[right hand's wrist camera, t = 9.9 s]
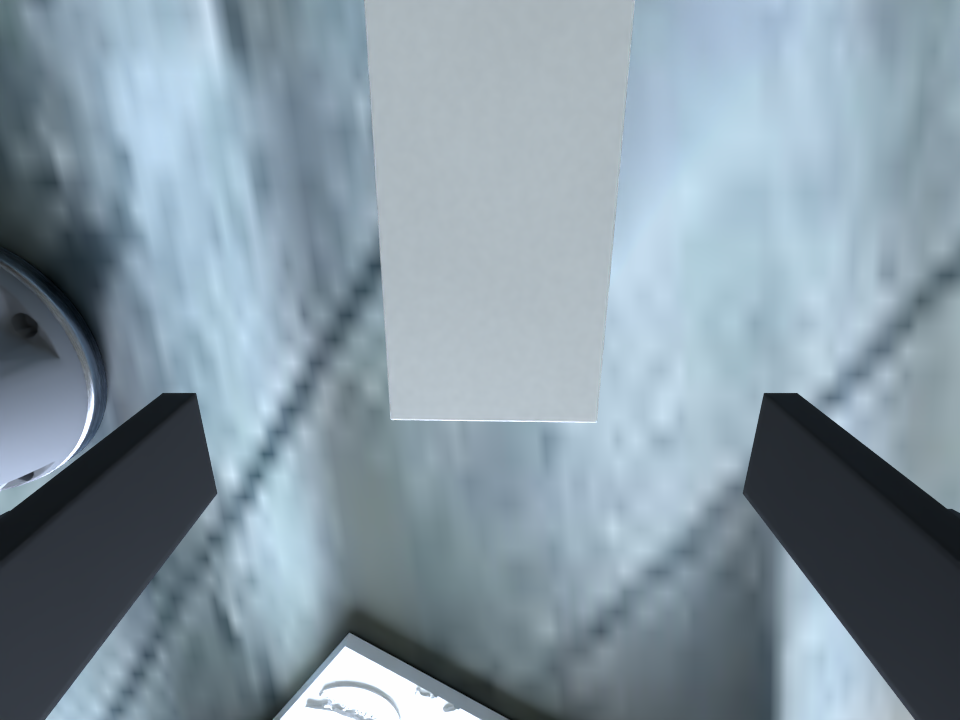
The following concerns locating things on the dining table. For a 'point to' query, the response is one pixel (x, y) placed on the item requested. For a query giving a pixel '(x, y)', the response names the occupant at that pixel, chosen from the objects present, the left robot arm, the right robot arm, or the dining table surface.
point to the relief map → (377, 690)
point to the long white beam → (496, 200)
